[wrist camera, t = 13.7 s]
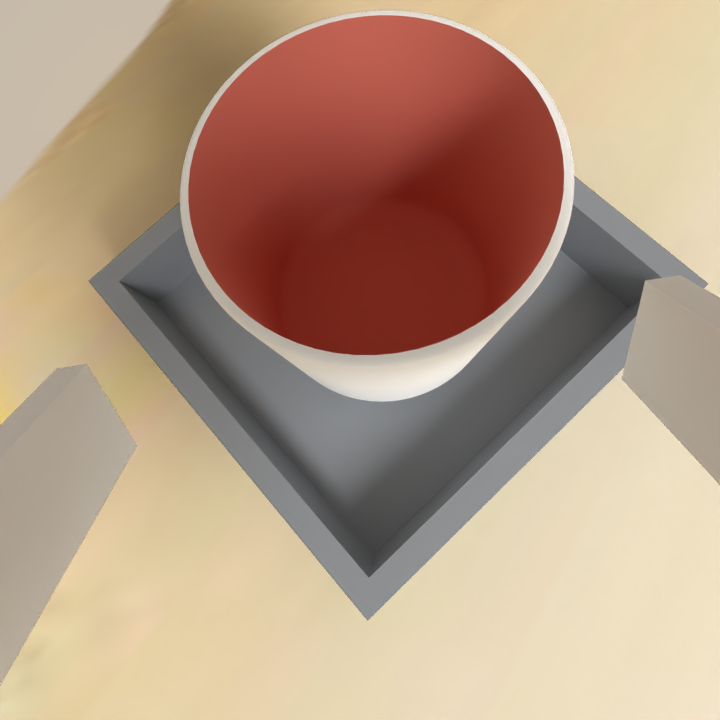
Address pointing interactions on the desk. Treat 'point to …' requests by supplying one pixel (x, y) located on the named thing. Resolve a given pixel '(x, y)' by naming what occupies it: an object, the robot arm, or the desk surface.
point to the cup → (377, 197)
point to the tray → (393, 418)
